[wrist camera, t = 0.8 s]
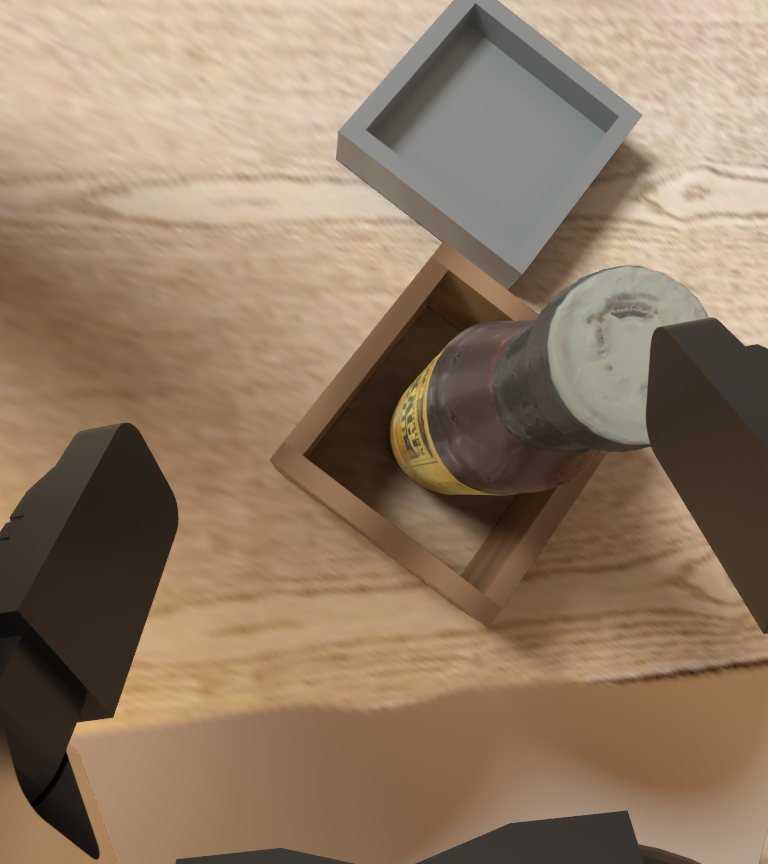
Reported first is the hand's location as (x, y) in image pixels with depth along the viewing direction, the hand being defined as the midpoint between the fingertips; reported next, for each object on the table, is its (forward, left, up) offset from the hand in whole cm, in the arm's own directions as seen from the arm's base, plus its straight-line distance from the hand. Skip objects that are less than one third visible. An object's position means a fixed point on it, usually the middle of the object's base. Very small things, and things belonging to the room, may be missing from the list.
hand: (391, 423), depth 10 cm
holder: (+3, +5, -22) cm, 23 cm away
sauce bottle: (+3, +5, -22) cm, 23 cm away
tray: (-5, +20, -22) cm, 31 cm away
